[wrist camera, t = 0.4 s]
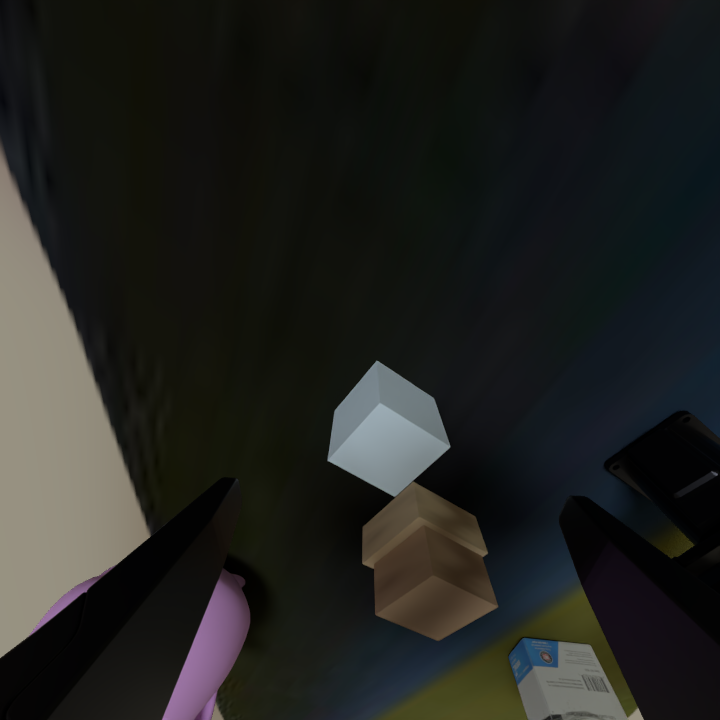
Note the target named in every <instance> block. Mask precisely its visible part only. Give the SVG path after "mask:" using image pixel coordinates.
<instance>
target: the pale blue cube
mask: <svg viewBox="0 0 720 720" xmlns="http://www.w3.org/2000/svg"><path fill="white" fill-rule="evenodd" d="M450 447H451V446H450V444H449V441H448V438H447V435H446V432H445V429H444V426H443V423H442V420H441V417H440V415H439V412H438V409H437V406H436V403H435V400H434V398H433V397H431V396H430V395H428V394H427V393H425V392H424V391H422V390H421V389H419V388H417V387H416V386H414V385H413V384H411V383H410V382H408V381H407V380H405V379H404V378H402V377H401V376H399V375H398V374H396V373H395V372H393V371H392V370H390V369H389V368H387V367H386V366H384V365H383V364H381V363H380V362H378V361H376V362H375V364H374V365H373V366H372V367H371V368H370V370H369V371H368V372H367V373H366V374H365V375H364V377H363V378H362V379H361V380H360V381H359V383H358V384H357V385H356V386H355V387H354V389H353V390H352V391H351V392H350V393H349V394H348V396H347V397H346V398H345V399H344V400H343V402H342V403H341V404H340V405H339V406H338V408H337V409H336V410H335V413H334V420H333V427H332V434H331V440H330V447H329V454H328V461H329V462H331V463H333V464H335V465H337V466H339V467H341V468H342V469H344V470H346V471H348V472H350V473H352V474H353V475H355V476H357V477H359V478H361V479H363V480H365V481H366V482H368V483H370V484H372V485H374V486H376V487H377V488H379V489H381V490H383V491H385V492H387V493H389V494H390V495H392V496H394V497H395V496H397V495H398V494H399V493H400V492H401V491H402V490H403V489H404V488H405V487H407V486H408V485H409V484H410V483H411V482H412V481H413V480H414V479H415V478H417V477H418V476H419V475H420V474H421V473H422V472H423V471H424V470H425V469H427V468H428V467H429V466H430V465H431V464H432V463H433V462H434V461H436V460H437V459H438V458H439V457H440V456H441V455H442V454H443V453H444V452H446V451H447V450H448V449H449V448H450Z"/></svg>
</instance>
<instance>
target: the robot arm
mask: <svg viewBox="0 0 720 720" xmlns="http://www.w3.org/2000/svg"><path fill="white" fill-rule="evenodd" d="M606 467H607V468H608V469H609V470H610V471H611V472H612V473H613V474H615V475H616V476H617V477H619V478H620V479H622V480H623V481H624V482H626V483H627V484H629V485H630V486H631V487H633V488H634V489H635V490H637V491H638V492H640V493H641V494H642V495H644V496H645V497H647V498H648V499H649V500H651V501H652V502H654V503H655V504H656V505H657V506H658V507H659V508H660V510H661V511H662V512H663V513H664V514H665V515H666V516H667V517H668V518H669V519H670V520H671V521H672V522H673V523H674V524H675V525H676V526H677V527H678V528H679V530H680V531H681V532H682V533H683V534H684V535H685V536H686V537H687V538H688V539H689V540H690V541H691V542H692V543H693V544H694V545H695V546H693V547H692V548H690V549H689V550H687V551H686V552H684V553H683V554H681V555H680V556H679V557H673V558H672V559H671V558H669V557H668V556H667V555H665V554H664V553H663V552H661V551H660V550H659V549H657V548H656V547H654V546H653V545H652V544H650V543H649V542H648V541H646V540H645V539H644V538H642V537H641V536H639V535H638V534H637V533H635V532H634V531H633V530H631V529H630V528H629V527H627V526H626V525H624V524H623V523H622V522H620V521H619V520H618V519H616V518H615V517H614V516H612V515H611V514H609V513H608V512H607V511H605V510H604V509H603V508H601V507H600V506H599V505H597V504H596V503H595V502H593V501H592V500H590V499H589V498H587V497H585V496H569V497H568V498H567V500H566V502H565V504H564V506H563V508H562V511H561V513H560V515H559V523H560V527H561V530H562V533H563V535H564V538H565V541H566V544H567V546H568V549H569V552H570V555H571V558H572V560H573V563H574V566H575V569H576V571H577V574H578V577H579V579H580V582H581V585H582V587H583V589H584V592H585V594H586V596H587V598H588V600H589V603H590V605H591V607H592V609H593V611H594V613H595V615H596V618H597V620H598V622H599V624H600V626H601V628H602V631H603V633H604V635H605V637H606V639H607V641H608V643H609V646H610V648H611V650H612V652H613V654H614V656H615V659H616V661H617V663H618V665H619V667H620V669H621V671H622V674H623V676H624V678H625V680H626V682H627V684H628V687H629V689H630V691H631V693H632V695H633V697H634V699H635V702H636V704H637V706H638V708H639V710H640V712H641V715H642V717H643V719H644V720H720V438H719V437H717V436H716V435H715V434H714V433H713V432H712V431H711V430H710V429H708V428H707V427H706V426H705V425H704V424H703V423H702V422H701V421H699V420H698V419H697V418H696V417H695V416H694V415H692V414H691V413H689V412H688V411H680V412H678V413H677V414H675V415H674V416H672V417H671V418H669V419H668V420H666V421H665V422H664V423H662V424H661V425H659V426H658V427H656V428H655V429H653V430H652V431H651V432H649V433H648V434H646V435H645V436H643V437H642V438H640V439H639V440H638V441H636V442H635V443H633V444H632V445H630V446H629V447H627V448H626V449H625V450H623V451H622V452H620V453H619V454H617V455H616V456H614V457H613V458H612V459H610V460H609V461H607V463H606ZM241 505H242V497H241V492H240V486H239V481H238V479H237V478H227V477H224V478H221V479H220V480H218V481H217V482H216V483H215V484H213V485H212V486H211V487H210V488H209V489H207V490H206V491H205V492H204V493H203V494H201V495H200V496H199V497H198V498H197V499H195V500H194V501H193V502H192V503H191V504H189V505H188V506H187V507H186V508H185V509H183V510H182V511H181V512H180V513H178V514H177V515H176V516H175V517H174V518H172V519H171V520H170V521H169V522H168V523H166V524H165V525H164V526H163V527H162V528H160V529H159V530H158V531H157V532H156V533H154V534H153V535H152V536H151V537H150V538H148V539H147V540H146V541H145V542H144V543H142V544H141V545H140V546H139V547H138V548H136V549H135V550H134V551H133V552H131V553H130V554H129V555H128V556H127V557H126V558H124V559H123V560H122V561H121V562H119V563H118V564H117V565H116V566H115V567H113V568H112V569H111V570H110V571H109V572H107V573H106V574H105V575H104V576H103V577H101V578H100V579H99V580H98V581H97V582H95V583H94V584H93V585H92V586H91V587H89V588H88V590H87V592H83V593H82V594H81V595H79V596H78V597H77V598H76V599H75V600H73V601H72V602H71V603H70V604H69V605H67V606H66V607H65V608H64V609H63V610H61V611H60V612H59V613H58V614H56V615H55V616H54V617H53V618H51V619H50V620H49V621H48V622H46V623H45V624H44V625H43V626H41V627H40V628H39V629H38V630H36V631H35V632H34V633H33V634H31V635H30V636H29V637H27V638H26V639H25V640H24V641H22V642H21V643H20V644H18V645H17V646H16V647H14V648H13V649H12V650H10V651H9V652H8V653H6V654H5V655H4V656H2V657H1V658H0V720H162V719H163V716H164V714H165V711H166V709H167V706H168V704H169V701H170V699H171V696H172V694H173V691H174V689H175V686H176V684H177V681H178V679H179V676H180V674H181V671H182V669H183V667H184V664H185V662H186V659H187V657H188V654H189V652H190V649H191V647H192V644H193V642H194V639H195V637H196V634H197V632H198V629H199V627H200V624H201V622H202V619H203V617H204V614H205V612H206V609H207V607H208V604H209V602H210V599H211V597H212V594H213V592H214V589H215V587H216V585H217V582H218V580H219V577H220V574H221V572H222V569H223V566H224V563H225V560H226V557H227V554H228V550H229V547H230V543H231V540H232V537H233V533H234V530H235V526H236V523H237V519H238V516H239V513H240V509H241Z"/></svg>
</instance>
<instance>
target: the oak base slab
mask: <svg viewBox="0 0 720 720" xmlns="http://www.w3.org/2000/svg"><path fill="white" fill-rule="evenodd" d="M423 525H425V526H427V527H429V528H430V529H432V530H434V531H436V532H438V533H440V534H442V535H444V536H445V537H447V538H449V539H451V540H453V541H455V542H457V543H459V544H460V545H462V546H464V547H466V548H468V549H470V550H472V551H474V552H475V553H477V554H479V555H481V556H482V557H483V556H485V555H486V554H488V551H487V549H486V546H485V543H484V540H483V537H482V534H481V531H480V528H479V525H478V522H477V519H476V517H475V516H474V515H472V514H470V513H468V512H466V511H465V510H463V509H461V508H459V507H458V506H456V505H454V504H452V503H450V502H449V501H447V500H445V499H443V498H442V497H440V496H438V495H436V494H434V493H433V492H431V491H429V490H427V489H426V488H424V487H422V486H420V485H418V484H417V483H415V482H412V483H411V484H410V485H409V486H408V487H407V488H406V489H405V490H403V491H402V492H401V493H400V494H399V495H398V496H397V497H396V498H395V499H393V500H392V501H391V502H390V503H389V504H388V505H387V506H386V507H385V508H383V509H382V510H381V511H380V512H379V513H378V514H377V515H376V516H375V517H373V518H372V519H371V520H370V521H369V522H368V523H367V524H366V525H365V526H363V544H362V564H364V565H366V566H369V567H371V568H373V569H374V564H375V563H376V562H377V561H379V560H380V559H381V558H383V557H384V556H385V555H386V554H388V553H389V552H390V551H391V550H393V549H394V548H395V547H397V546H398V545H399V544H400V543H402V542H403V541H404V540H406V539H407V538H408V537H409V536H411V535H412V534H413V533H414V532H416V531H417V530H418V529H420V528H421V527H422V526H423Z"/></svg>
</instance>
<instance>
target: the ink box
mask: <svg viewBox="0 0 720 720" xmlns="http://www.w3.org/2000/svg"><path fill="white" fill-rule="evenodd" d="M508 658H509V661H510V664H511V667H512V670H513V674H514V676H515V680H516V683H517V686H518V689H519V692H520V695H521V698H522V702H523V705H524V708H525V711H526V714H527V718H528V720H628V718H627V716H626V714H625V712H624V710H623V708H622V706H621V704H620V702H619V700H618V698H617V696H616V694H615V692H614V690H613V688H612V686H611V685H610V683H609V681H608V679H607V677H606V675H605V673H604V671H603V669H602V667H601V665H600V663H599V661H598V659H597V657H596V655H595V653H594V651H593V649H592V647H591V645H589V644H580V643H570V642H561V641H551V640H541V639H532V638H523V639H522V640H521V641H520V642H519V643H518V645H517V646H516V647H515V648H514V650H513V651H512V652H511V653H510V655H509V656H508Z"/></svg>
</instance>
